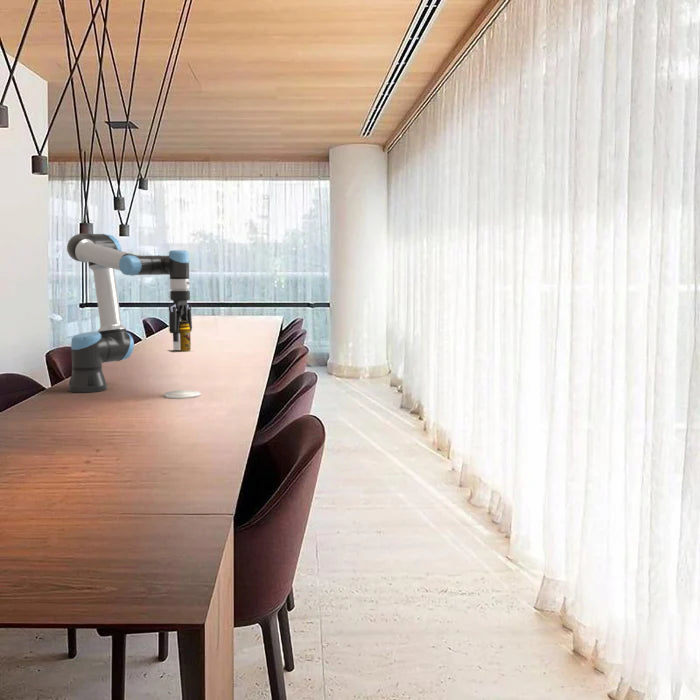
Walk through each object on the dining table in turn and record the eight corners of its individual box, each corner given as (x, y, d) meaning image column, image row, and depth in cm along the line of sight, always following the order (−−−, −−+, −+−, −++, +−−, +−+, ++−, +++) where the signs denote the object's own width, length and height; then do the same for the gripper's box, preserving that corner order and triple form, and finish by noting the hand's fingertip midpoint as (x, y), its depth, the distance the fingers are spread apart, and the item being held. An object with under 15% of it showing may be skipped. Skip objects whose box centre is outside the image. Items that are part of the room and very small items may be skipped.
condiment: (194, 351, 307) (193, 321, 305) (173, 352, 302) (172, 322, 301) (187, 349, 313) (186, 319, 311) (167, 351, 308) (166, 320, 307)
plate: (157, 397, 305) (157, 394, 305) (175, 391, 319) (175, 388, 319) (189, 399, 301) (189, 396, 301) (206, 393, 314) (206, 390, 314)
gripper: (175, 291, 295) (177, 351, 298) (200, 289, 313) (201, 346, 316) (158, 290, 297) (160, 351, 300) (183, 289, 315) (185, 346, 318)
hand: (181, 348), depth 308 cm, fingers closed on condiment, 6 cm apart
